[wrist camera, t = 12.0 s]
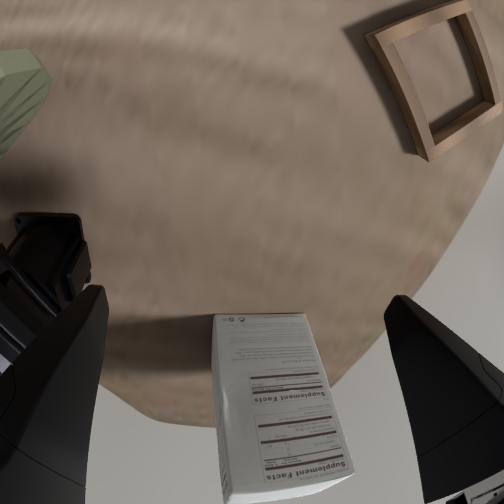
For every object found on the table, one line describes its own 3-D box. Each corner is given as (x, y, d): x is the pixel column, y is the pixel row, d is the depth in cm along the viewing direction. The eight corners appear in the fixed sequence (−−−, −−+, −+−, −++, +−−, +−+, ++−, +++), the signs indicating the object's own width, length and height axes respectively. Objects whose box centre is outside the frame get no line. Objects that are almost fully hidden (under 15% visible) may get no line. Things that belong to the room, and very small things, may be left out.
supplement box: (287, 363, 34) (318, 493, 21) (210, 366, 33) (223, 506, 19) (307, 310, 29) (360, 474, 15) (212, 311, 27) (229, 497, 14)
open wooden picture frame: (418, 155, 20) (429, 162, 19) (363, 35, 14) (374, 34, 13) (491, 106, 17) (503, 111, 16) (454, -1, 12) (466, -1, 10)
